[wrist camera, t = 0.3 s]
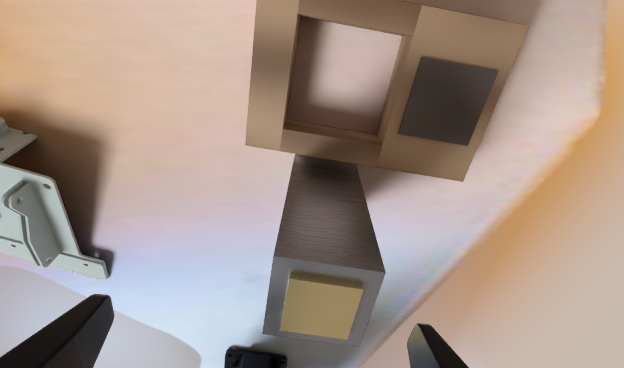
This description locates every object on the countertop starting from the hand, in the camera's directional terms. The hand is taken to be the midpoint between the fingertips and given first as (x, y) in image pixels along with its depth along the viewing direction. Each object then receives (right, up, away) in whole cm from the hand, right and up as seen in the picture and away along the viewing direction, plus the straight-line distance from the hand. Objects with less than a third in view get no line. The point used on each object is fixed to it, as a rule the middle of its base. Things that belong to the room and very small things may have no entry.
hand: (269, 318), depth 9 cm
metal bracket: (-23, +3, +17) cm, 28 cm away
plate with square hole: (+5, +11, +12) cm, 16 cm away
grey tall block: (+2, +4, +15) cm, 15 cm away
